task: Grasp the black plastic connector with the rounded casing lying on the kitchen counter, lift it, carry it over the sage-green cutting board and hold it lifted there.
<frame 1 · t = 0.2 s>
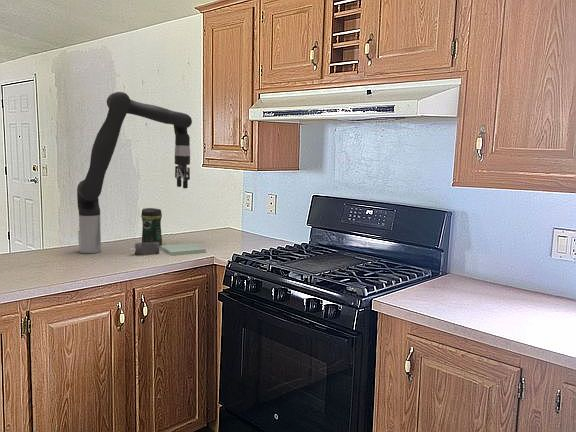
hand: (182, 187, 261), 29 cm above the worktop, fingers open, 8 cm apart
coffee jar: (151, 245, 261), on the worktop
cutting board: (182, 250, 250), on the worktop
connector: (147, 253, 241), on the worktop
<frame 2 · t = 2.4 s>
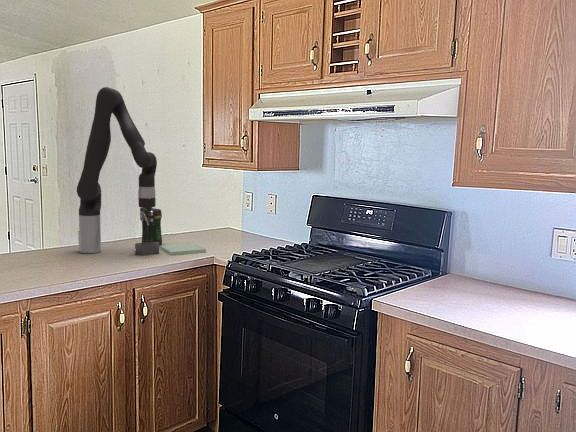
hand: (147, 231, 240), 10 cm above the worktop, fingers open, 8 cm apart
nothing on the worktop moved.
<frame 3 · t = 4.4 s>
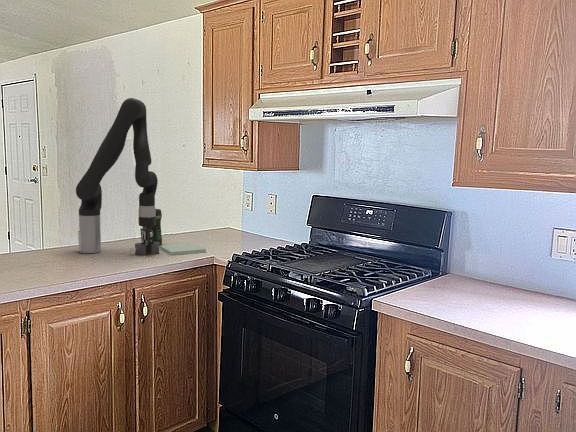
hand: (147, 252, 241), 1 cm above the worktop, fingers closed on connector, 4 cm apart
connector: (147, 253, 241), on the worktop, touching gripper
everything else where it was.
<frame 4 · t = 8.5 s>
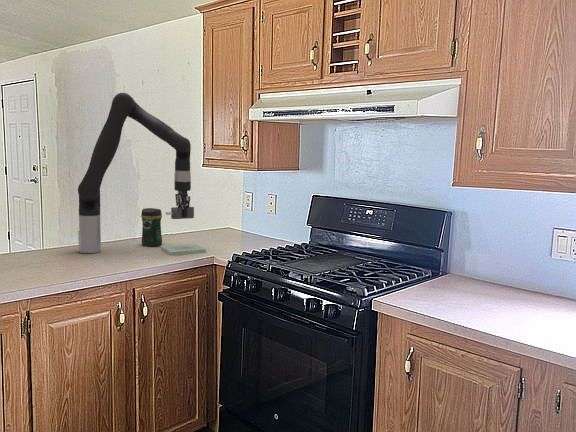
hand: (182, 216, 248), 17 cm above the worktop, fingers closed on connector, 4 cm apart
connector: (182, 218, 248), point 16 cm above the worktop, touching gripper
everything else where it was.
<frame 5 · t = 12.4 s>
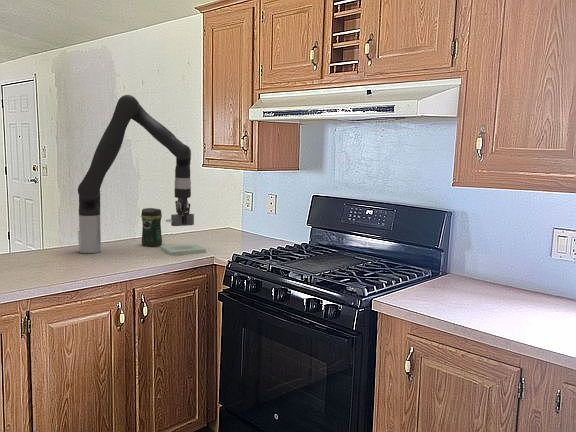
hand: (182, 223, 248), 13 cm above the worktop, fingers closed on connector, 4 cm apart
connector: (182, 225, 248), point 12 cm above the worktop, touching gripper
everything else where it was.
at the end: the gripper is holding connector; connector point 12.4 cm above the worktop; connector 0.0 cm from the cutting board (horizontally) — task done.
